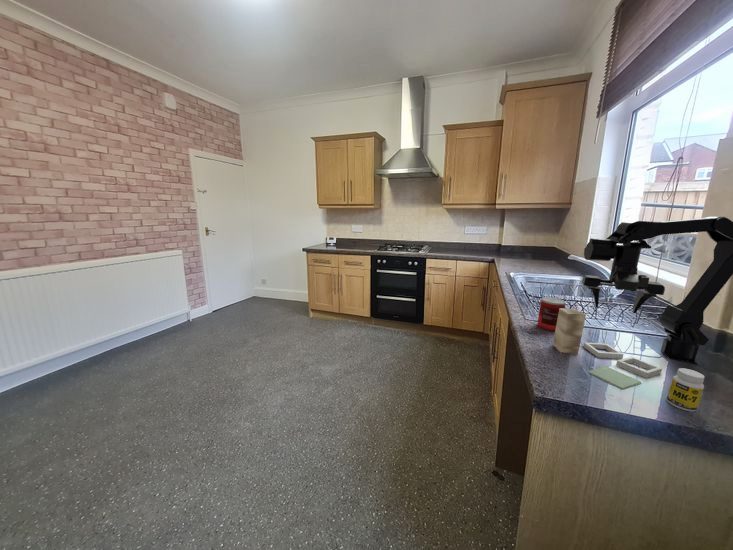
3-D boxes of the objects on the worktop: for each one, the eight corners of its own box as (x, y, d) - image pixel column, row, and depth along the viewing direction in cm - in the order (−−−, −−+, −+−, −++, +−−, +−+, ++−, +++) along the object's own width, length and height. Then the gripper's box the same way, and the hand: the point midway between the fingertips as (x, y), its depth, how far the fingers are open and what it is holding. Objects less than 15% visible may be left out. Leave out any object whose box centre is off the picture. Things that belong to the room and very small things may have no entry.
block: (568, 346, 93) (576, 309, 91) (578, 353, 89) (586, 314, 86) (552, 345, 94) (559, 308, 91) (561, 352, 89) (568, 313, 86)
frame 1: (605, 347, 93) (606, 343, 92) (622, 358, 86) (623, 354, 86) (583, 346, 93) (584, 342, 93) (597, 357, 87) (598, 352, 86)
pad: (606, 367, 81) (606, 366, 81) (640, 383, 74) (641, 381, 74) (587, 372, 78) (588, 371, 78) (622, 389, 71) (622, 388, 71)
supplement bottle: (666, 404, 65) (675, 372, 64) (665, 395, 69) (675, 364, 67) (697, 415, 62) (708, 381, 60) (695, 405, 65) (706, 372, 63)
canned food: (551, 323, 113) (556, 297, 110) (565, 331, 105) (571, 303, 103) (532, 323, 113) (536, 296, 110) (545, 331, 105) (550, 303, 102)
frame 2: (630, 360, 85) (631, 356, 84) (660, 373, 78) (662, 368, 78) (616, 365, 82) (617, 360, 82) (646, 378, 76) (647, 373, 76)
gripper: (591, 262, 85) (581, 312, 88) (678, 270, 75) (664, 324, 79) (586, 257, 94) (577, 302, 97) (663, 263, 85) (651, 313, 88)
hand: (614, 310), depth 90 cm, fingers open, 9 cm apart
